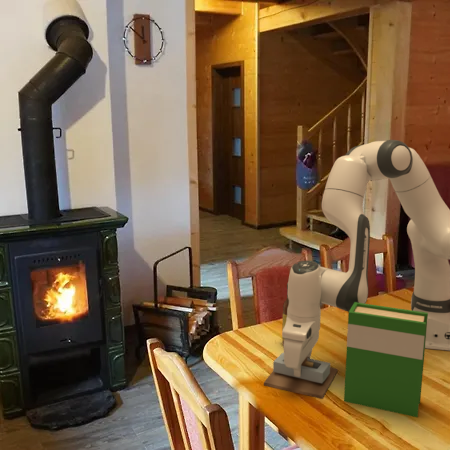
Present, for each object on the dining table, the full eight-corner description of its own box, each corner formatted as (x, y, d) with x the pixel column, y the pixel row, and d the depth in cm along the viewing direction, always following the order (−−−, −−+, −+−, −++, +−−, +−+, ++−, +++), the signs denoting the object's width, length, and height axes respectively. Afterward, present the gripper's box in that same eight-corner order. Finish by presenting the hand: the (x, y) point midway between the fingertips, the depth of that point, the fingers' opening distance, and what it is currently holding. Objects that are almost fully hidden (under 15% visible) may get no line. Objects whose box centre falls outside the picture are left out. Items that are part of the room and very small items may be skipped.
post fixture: (337, 371, 153) (338, 347, 151) (322, 398, 139) (323, 372, 137) (283, 360, 159) (284, 337, 158) (263, 385, 145) (264, 360, 144)
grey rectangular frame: (273, 371, 149) (273, 361, 149) (282, 362, 155) (282, 352, 154) (322, 383, 143) (322, 373, 142) (329, 373, 148) (330, 363, 148)
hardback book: (420, 402, 137) (427, 312, 132) (417, 417, 130) (425, 323, 125) (349, 387, 144) (354, 302, 139) (343, 401, 137) (348, 312, 132)
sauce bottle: (301, 350, 166) (303, 288, 161) (280, 348, 167) (282, 286, 163) (302, 341, 172) (304, 281, 168) (283, 339, 173) (284, 280, 169)
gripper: (303, 306, 156) (302, 351, 159) (279, 333, 138) (278, 383, 141) (325, 310, 153) (323, 355, 156) (303, 338, 135) (302, 388, 138)
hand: (302, 369), depth 148 cm, fingers closed on grey rectangular frame, 6 cm apart
